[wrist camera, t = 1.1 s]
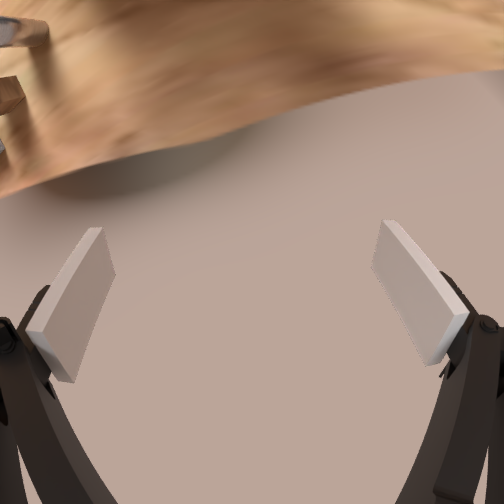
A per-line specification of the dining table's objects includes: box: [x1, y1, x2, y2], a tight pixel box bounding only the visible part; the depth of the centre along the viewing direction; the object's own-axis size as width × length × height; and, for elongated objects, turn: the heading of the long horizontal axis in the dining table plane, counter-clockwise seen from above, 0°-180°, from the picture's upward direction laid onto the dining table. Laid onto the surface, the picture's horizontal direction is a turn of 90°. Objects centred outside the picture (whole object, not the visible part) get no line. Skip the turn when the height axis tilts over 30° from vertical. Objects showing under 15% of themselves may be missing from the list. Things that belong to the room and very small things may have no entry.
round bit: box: [0, 16, 49, 48], centre depth 21 cm, size 4×4×12 cm
